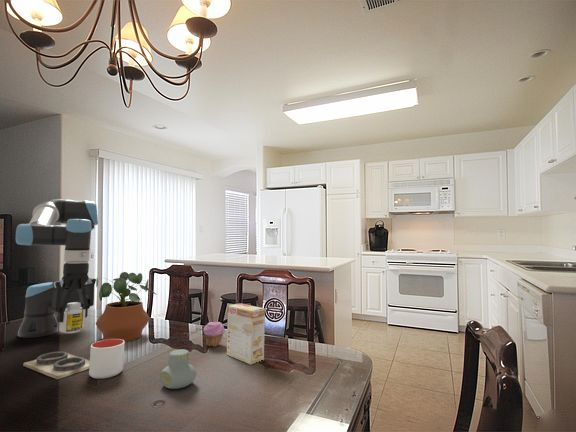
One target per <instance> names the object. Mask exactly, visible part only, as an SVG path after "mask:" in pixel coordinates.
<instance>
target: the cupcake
mask: <svg viewBox="0 0 576 432" xmlns="http://www.w3.org/2000/svg"><path fill="white" fill-rule="evenodd" d="M203 327H204V328H203V334H204V335H205V343H206V345H207V346H208V347H213V348H217V347H218V346H219V345H220V343H221V342H222V339H223V335H224V333H225V327H224V325H223V323H222V322H220V321H210V322H207V324H206V325H205V326H203ZM217 345H218V346H217Z"/></svg>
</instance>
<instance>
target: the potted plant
mask: <svg viewBox="0 0 576 432" xmlns="http://www.w3.org/2000/svg"><path fill="white" fill-rule="evenodd" d="M95 279H96V282H95V285H96V286H95V287H96V288H98V286H99V285H98V284H99V280H100V279H101V277H100V278H98V277H96V278H95ZM104 279H106V280H107V278H104ZM113 281H114V282H113ZM127 281H128V282H127ZM142 281H144V282H146V283H145V285H144V284H142ZM110 282H112V283H113V285H111V283H109V282H103V283H102V284H101V286H100V288H99V292H98V295H99V296H98V297H99V300H100V302H101V301H102V300H103V298H108V297H110V295H111V294H112V293H113V292H112V291H113V290H114V291H115V292H116V293H117V294H118V295H119V296H117V295H116V294H115V293H113V295H114V296H116V297H117V299H118V300H119V301H115V302H109V303H107V304H106V305H105V308H104V311H103V313H102V314H101V315H99V317H98V318H97V321H96V322H95V325H96V328H97V329H98V330H99V331H100V332H101V333H102V337H103V339H102V340H107V339H121V340H124V341H125V343H127V342H131V341H135V340H137V339H140V338H141V337H142V333H143V330H144V328H145V327H146V326H147V325H148V323H149V321H150V320H151V318H150V316H149V314H148V312H146V310H145V309H144V303H143V302H142V301H141V298H140V296H139V293H140V292H141V291H142V290H144V291H145V293H147V291H148V292H149V291H150V294H149V295H151V294H154V295H157V293H156V292H154V291H153V290H152V289H151V288H149V279H146V280H145V279H144V280H143V274H142V273H141V272H139V273H138V274H136V273H135V272H130V273H128V272H127V271H122V272H121V273H120V274H119V277H117V278H114V279H113V280H112V281H111V280H110ZM130 282H131V283H132V284H131V285H129V283H130ZM135 284H136V286H134V285H135ZM137 285H139V287H140V290H139V291H138V289H137V288H136V287H137ZM132 291H135V292H136V291H138V293H135V292H132ZM126 297H129V298H126Z"/></svg>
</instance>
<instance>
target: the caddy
mask: <svg viewBox="0 0 576 432" xmlns="http://www.w3.org/2000/svg"><path fill="white" fill-rule="evenodd" d="M89 365H90V359H86V358H85V357H83V356H77V355H74V354H71V353H69V352H67V351H51V352H47V353H43V354H40V355H39V356H37V357H36V359H33V360H30V361H26V362H23V365H22V366H23V367H24V368H25V367H26V368H27V369H30V370H32V371H35V372H37V373H40V374H42V375H45V376H47V377H50V378H53V379H54V380H60V379H62V378H66V377H69V376H72V375H74V374H77V373H81V372H83V371H86V370H89Z"/></svg>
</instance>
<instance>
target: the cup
mask: <svg viewBox="0 0 576 432" xmlns="http://www.w3.org/2000/svg"><path fill="white" fill-rule="evenodd" d="M125 343H126V342H125V341H124V340H121V339H107V340H103V339H102V340H98V341H95V342H93V343H92V344H91V345H90V351H89V353H90V354H89V360H90V365H89V369H88V375H89V377H91V378H93V379H99V380H101V379H109V378H112V377H114V376H117V375H119V374H120V373H121V372H122V371H123V370H124V359H125Z"/></svg>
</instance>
